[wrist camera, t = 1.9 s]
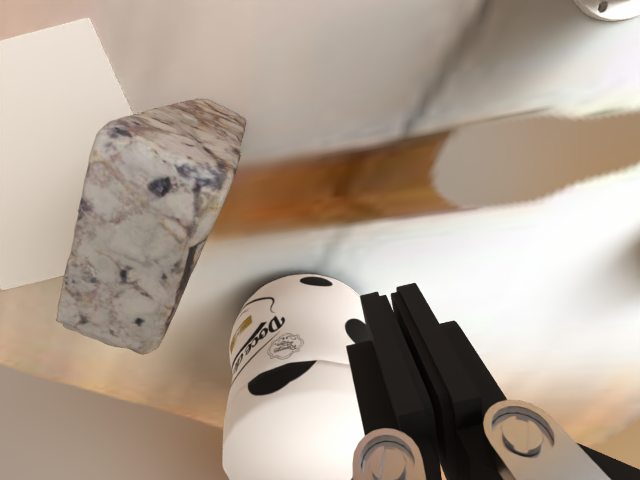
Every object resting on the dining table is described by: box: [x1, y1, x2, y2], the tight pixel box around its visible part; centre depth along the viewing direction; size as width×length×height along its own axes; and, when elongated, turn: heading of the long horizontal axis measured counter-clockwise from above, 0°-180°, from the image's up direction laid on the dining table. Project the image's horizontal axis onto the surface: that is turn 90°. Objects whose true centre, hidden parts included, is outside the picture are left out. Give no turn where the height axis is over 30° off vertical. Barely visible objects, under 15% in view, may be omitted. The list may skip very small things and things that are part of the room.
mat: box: [0, 18, 133, 290], centre depth 35 cm, size 22×22×1 cm
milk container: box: [222, 274, 369, 480], centre depth 38 cm, size 17×17×18 cm
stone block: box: [56, 99, 246, 354], centre depth 27 cm, size 13×7×20 cm, turn 159°
